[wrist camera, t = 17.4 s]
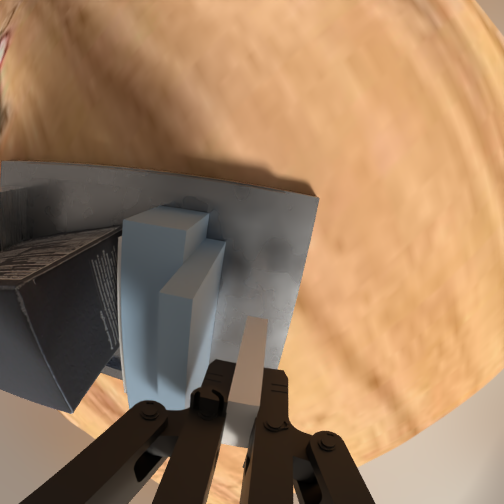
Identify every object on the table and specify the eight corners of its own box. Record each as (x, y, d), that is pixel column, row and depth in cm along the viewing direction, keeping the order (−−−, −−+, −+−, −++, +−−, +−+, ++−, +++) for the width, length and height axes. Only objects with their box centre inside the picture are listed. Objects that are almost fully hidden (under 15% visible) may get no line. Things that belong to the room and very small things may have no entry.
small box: (45, 312, 20) (-35, 378, 10) (25, 237, 18) (-74, 281, 8) (151, 315, 19) (74, 423, 9) (132, 221, 17) (11, 279, 7)
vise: (9, 160, 17) (-42, 165, 12) (316, 196, 17) (340, 209, 12) (19, 324, 22) (-16, 352, 16) (266, 397, 22) (264, 455, 16)
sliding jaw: (154, 204, 17) (76, 232, 9) (229, 216, 17) (197, 256, 9) (147, 364, 20) (105, 440, 12) (207, 378, 20) (182, 464, 12)
